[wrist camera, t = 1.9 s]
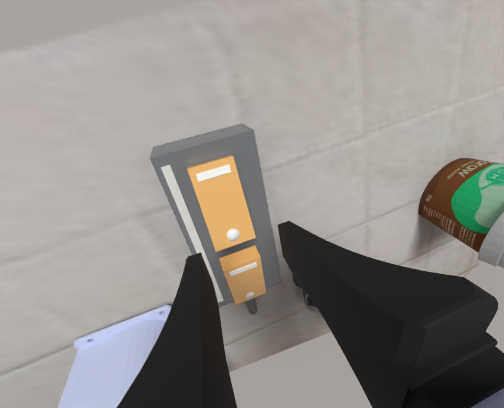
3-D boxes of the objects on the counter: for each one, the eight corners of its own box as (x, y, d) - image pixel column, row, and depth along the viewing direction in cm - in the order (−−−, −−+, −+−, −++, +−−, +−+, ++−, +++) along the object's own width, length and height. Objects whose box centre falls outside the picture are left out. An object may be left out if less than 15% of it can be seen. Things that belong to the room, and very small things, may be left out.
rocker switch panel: (225, 319, 28) (232, 348, 25) (153, 147, 17) (149, 160, 14) (277, 297, 29) (290, 322, 26) (242, 123, 18) (256, 131, 15)
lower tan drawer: (232, 293, 22) (236, 305, 21) (219, 258, 18) (223, 271, 17) (261, 281, 22) (266, 293, 22) (255, 245, 18) (260, 257, 17)
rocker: (214, 245, 17) (216, 252, 16) (187, 167, 15) (187, 169, 14) (252, 231, 18) (256, 238, 16) (230, 155, 16) (233, 155, 15)
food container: (490, 127, 27) (636, 146, 19) (486, 168, 30) (608, 200, 22) (403, 185, 27) (510, 231, 19) (409, 220, 30) (501, 272, 22)
